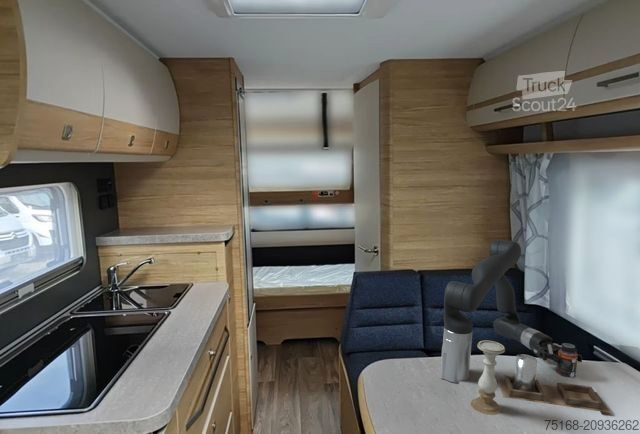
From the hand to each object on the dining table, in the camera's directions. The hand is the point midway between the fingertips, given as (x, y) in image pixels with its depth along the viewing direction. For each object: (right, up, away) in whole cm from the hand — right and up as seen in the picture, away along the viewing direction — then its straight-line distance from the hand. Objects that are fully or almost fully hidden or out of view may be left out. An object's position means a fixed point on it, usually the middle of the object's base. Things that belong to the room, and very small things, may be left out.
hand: (571, 360), depth 152 cm
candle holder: (-37, -9, -19) cm, 43 cm away
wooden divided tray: (-13, -8, -12) cm, 19 cm away
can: (-21, -6, -10) cm, 24 cm away
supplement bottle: (-1, -6, +3) cm, 7 cm away
